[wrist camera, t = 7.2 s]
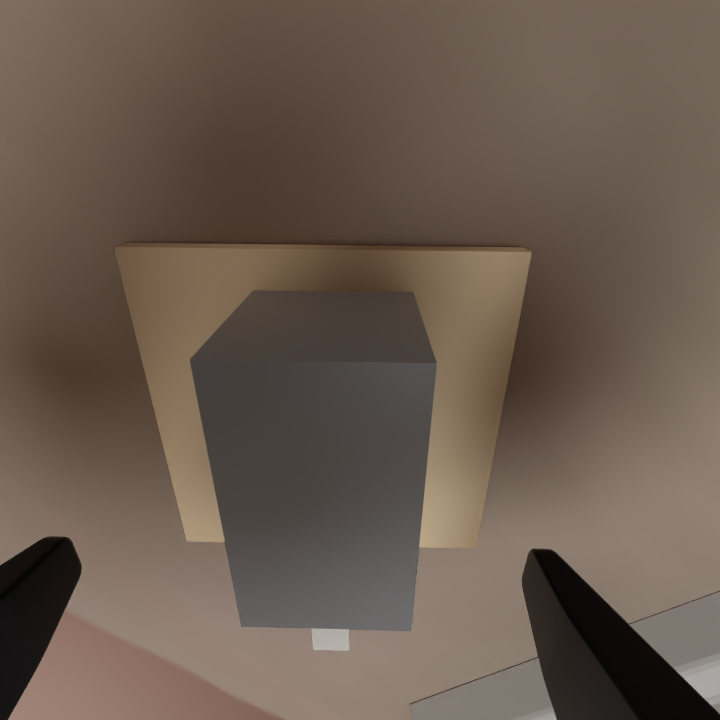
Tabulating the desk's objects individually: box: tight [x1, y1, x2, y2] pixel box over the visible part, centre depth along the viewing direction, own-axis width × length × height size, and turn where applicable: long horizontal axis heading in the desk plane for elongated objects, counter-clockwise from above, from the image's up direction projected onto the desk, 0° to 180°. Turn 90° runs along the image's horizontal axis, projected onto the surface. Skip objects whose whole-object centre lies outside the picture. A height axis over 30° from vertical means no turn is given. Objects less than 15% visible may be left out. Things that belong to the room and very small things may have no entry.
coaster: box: [114, 243, 532, 549], centre depth 12 cm, size 10×10×1 cm
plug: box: [190, 290, 437, 651], centre depth 10 cm, size 4×9×4 cm
